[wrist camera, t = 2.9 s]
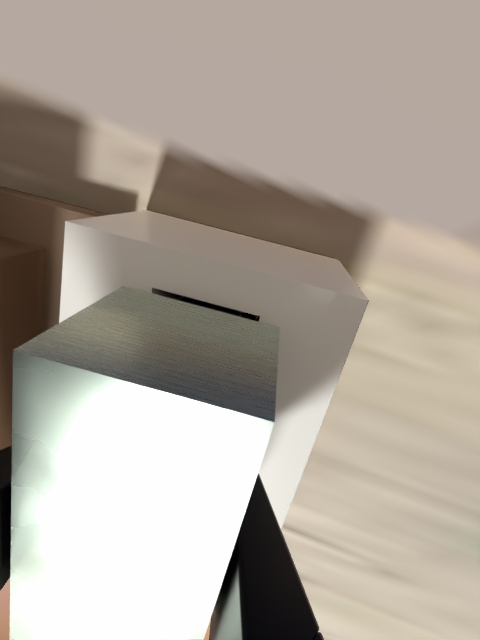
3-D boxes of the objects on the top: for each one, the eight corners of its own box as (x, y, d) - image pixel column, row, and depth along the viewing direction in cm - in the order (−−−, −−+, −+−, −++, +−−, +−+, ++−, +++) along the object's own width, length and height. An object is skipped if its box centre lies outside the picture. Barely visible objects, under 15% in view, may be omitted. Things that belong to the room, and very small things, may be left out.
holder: (338, 259, 13) (368, 300, 8) (271, 459, 16) (264, 572, 11) (145, 209, 13) (64, 220, 8) (117, 416, 16) (47, 509, 11)
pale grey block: (281, 287, 11) (274, 422, 5) (231, 461, 14) (180, 708, 7) (170, 258, 11) (13, 350, 5) (140, 436, 14) (9, 655, 7)
